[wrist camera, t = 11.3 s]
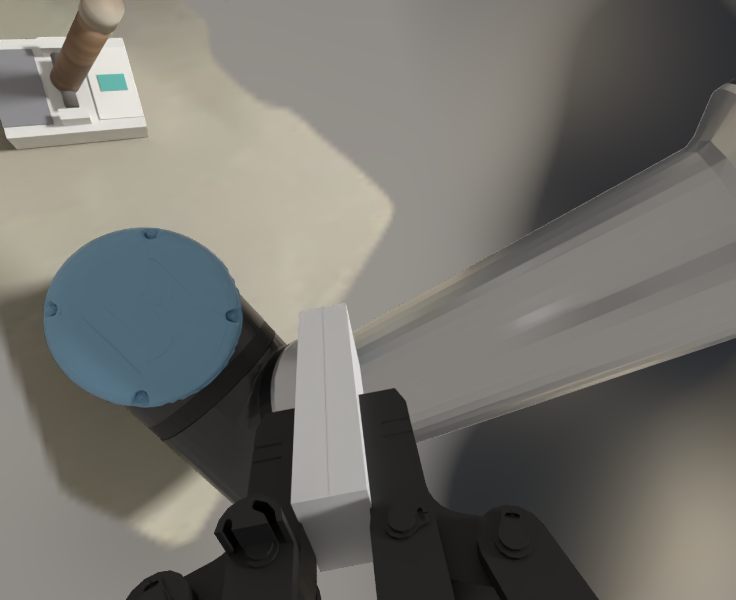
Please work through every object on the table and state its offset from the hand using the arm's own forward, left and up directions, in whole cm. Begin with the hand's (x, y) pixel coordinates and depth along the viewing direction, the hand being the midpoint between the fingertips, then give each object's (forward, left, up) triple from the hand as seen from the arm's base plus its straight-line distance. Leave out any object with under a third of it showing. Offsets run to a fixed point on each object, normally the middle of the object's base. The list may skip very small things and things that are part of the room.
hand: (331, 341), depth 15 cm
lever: (+23, +14, -36) cm, 45 cm away
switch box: (+23, +14, -40) cm, 48 cm away
